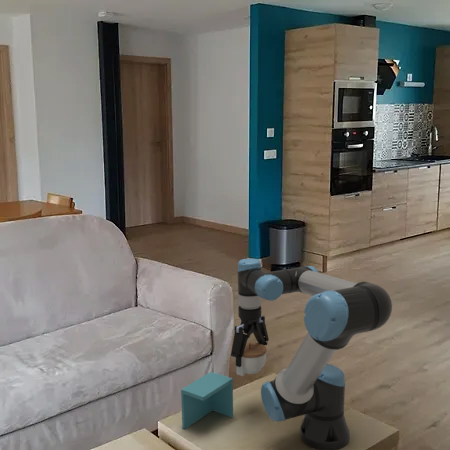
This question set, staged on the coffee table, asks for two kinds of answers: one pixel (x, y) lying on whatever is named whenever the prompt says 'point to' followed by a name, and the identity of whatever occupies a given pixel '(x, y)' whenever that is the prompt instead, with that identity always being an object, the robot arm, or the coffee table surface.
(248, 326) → the robot arm
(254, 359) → the lidded jar
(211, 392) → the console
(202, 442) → the coffee table surface
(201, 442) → the coffee table surface
